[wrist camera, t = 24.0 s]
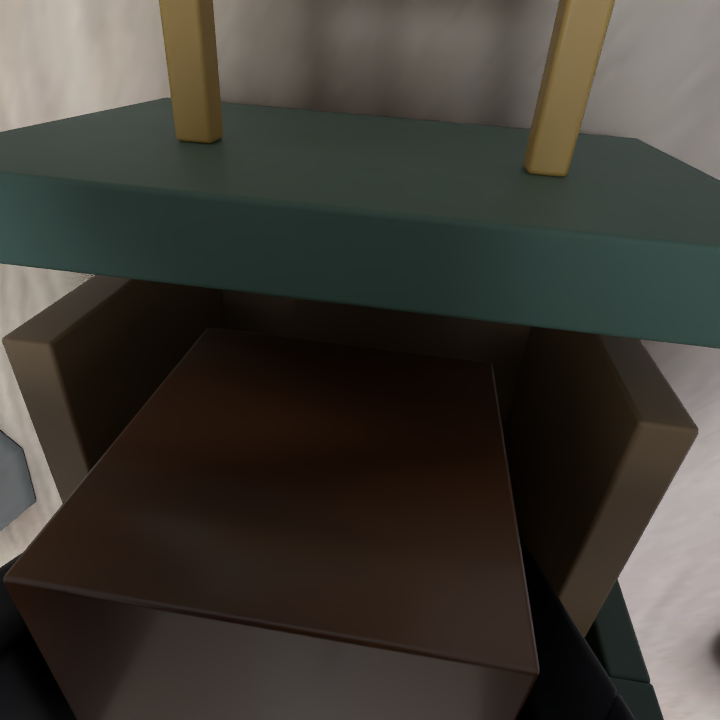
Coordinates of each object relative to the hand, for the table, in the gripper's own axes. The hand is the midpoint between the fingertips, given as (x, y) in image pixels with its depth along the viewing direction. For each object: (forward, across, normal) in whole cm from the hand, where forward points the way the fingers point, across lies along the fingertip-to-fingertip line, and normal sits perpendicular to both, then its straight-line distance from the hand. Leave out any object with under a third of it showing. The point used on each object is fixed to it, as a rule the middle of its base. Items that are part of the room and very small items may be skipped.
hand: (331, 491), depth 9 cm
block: (+1, 0, 0) cm, 1 cm away
